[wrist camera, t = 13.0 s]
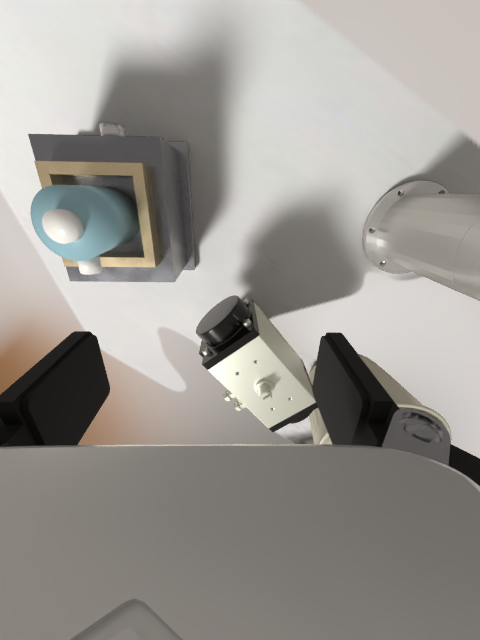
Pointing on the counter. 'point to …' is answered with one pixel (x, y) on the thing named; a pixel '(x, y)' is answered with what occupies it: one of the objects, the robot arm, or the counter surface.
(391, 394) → the canister
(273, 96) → the counter surface
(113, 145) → the grey box
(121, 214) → the drain pump
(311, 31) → the counter surface
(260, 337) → the cream boxy piece
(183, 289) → the counter surface
